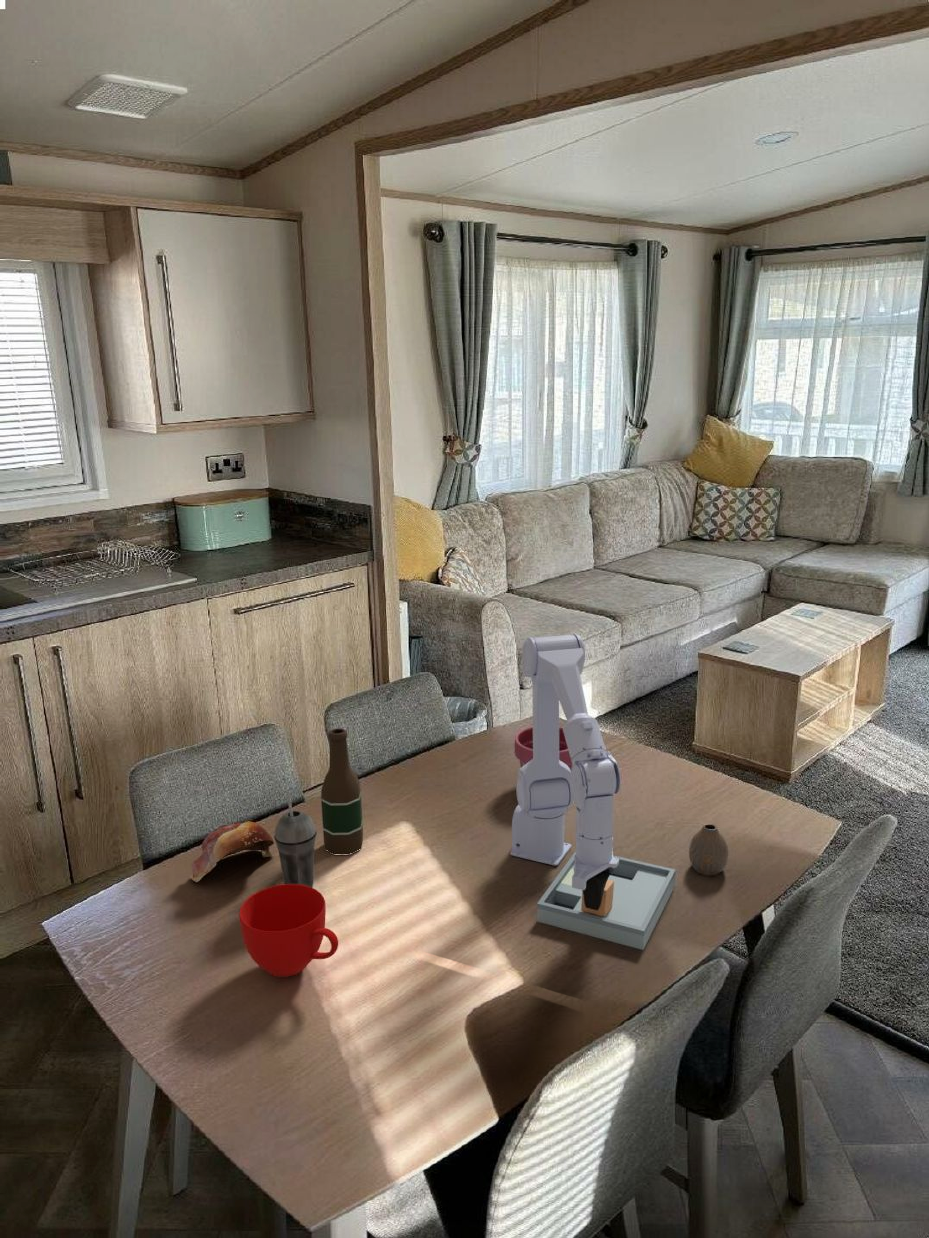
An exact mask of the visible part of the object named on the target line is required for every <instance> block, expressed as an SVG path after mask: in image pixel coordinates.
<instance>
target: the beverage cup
mask: <svg viewBox="0 0 929 1238" xmlns="http://www.w3.org/2000/svg"><path fill="white" fill-rule="evenodd" d="M286 798H287V804H288V810H289V811H288V812H286V813H284V814H283V815H282V816H281V817H280V818H279V819H278V821H277V823H276V825H275V828H274V836H273V838H274V841H275V844H276V849H277V851H278V856H279V861H280V867H281V871H282V878H283V879H282V880H283V884H299V885H305V886H309V887H312V888H313V887H314V872H315V871H314V866H315V862H314V861H315V844H316V837H317V833H318V832H317V830H316V829H317V828H316V826H315V823H314V821H313V819H312V817H311V816H309V815H308V814H307V813H305V812H303V811H300V810H293V806H292V805H293V804H292V798H291V794H290V791H287V792H286Z"/></svg>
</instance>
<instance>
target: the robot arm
mask: <svg viewBox="0 0 929 1238" xmlns="http://www.w3.org/2000/svg"><path fill="white" fill-rule="evenodd" d="M521 648H522V649H521V654H522V655H521V657H522V658H521V661H522V663H521V667H522V670H521V671H522V674H523V676H524V677H527V678H531V686H532V687H531V689H532V727H533V759H532V760H531V761H529V762H528V763H527V764H525V765H524V766H523V767H521V766H520V768H519V769H518V773H517V774H518V775H517V782H516V799H517V802H518V803H517V804H518V805H517V806H516V807H515V809H514V811H513V815H512V819H511V820H512V821H511V851H510V853H509V854H510V855H511V856H513V857H517V858H521V859H525V860H530V861H534V862H538V863H541V864H542V863H543V864H545V865H546V864H547V865H552V866H555V867H556V866H558V865H559V864H560V863H561V861H562V860H563V858H564V857H565V856H566V855H567V854H568V852H569V851H570V849H571V848H572V844H571V843H567V842H565V814H566V813H568V811H569V809H568V808H570V807H571V806H572V805H573V804H575V805H576V816H575V817H576V820H575V822H576V823H575V828H576V829H575V851H576V853H575V852H574V853H575V856H574V874H573V876H572V888H576V889H580V890H582V891H583V895H584V903H585V907H586V908H589V909H593V910H597V911H598V909H599V907H600V905H601V901H602V896H603V892H604V888H605V885H606V882H607V880H608V878H609V876H610V874H611V872H612V871H613V868H616V867H617V866H618V864H619V859H618V858H614V857H613V855H614V852H613V849H614V844H615V843H614V841H615V839H614V837H613V830H614V828H613V827H614V796H615V795H617V794H619V792H620V790H621V785H622V784H621V781H622V780H621V773H620V768H619V764H618V762H617V760H616V759H615V758H614V757H613V755H612V752H611V751H609V750H608V751H607V749H606V748H607V747H606V745H605V742H604V739H603V737H602V732H601V730H600V725H599V723H598V720H597V719H596V718H594V716H591V715H589V712H588V709H587V703H586V697H585V695H584V689H583V685H582V679H581V675H582V673H583V670H584V665H585V660H586V649H585V648H586V647H585V642H584V640H583V638H582V637H581V636H580V635H579V633H572V634H566V635H564V634H563V635H551V636H539V637H538V636H537V637H531V636H528V637H527V638H526V639H525V641H524V642H523V644H522V646H521ZM560 706H561V709H562V712H563V714H564V717H565V719H566V722H565V724H564V726H563V727H562V728H563V732H564V736H565V740H566V743H567V747H568V750H569V754H570V757H571V761H572V764H573V767H572V772H571V770H570V768H569V767H568V766H567V765H566V764H565V763H563V762H562V761H560V760H559V727H560ZM614 794H615V795H614Z"/></svg>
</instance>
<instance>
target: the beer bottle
mask: <svg viewBox="0 0 929 1238" xmlns="http://www.w3.org/2000/svg"><path fill="white" fill-rule="evenodd" d="M348 736H349V733H348V731H347V730H346V729H344V728H334V729H331V730H329V732H328V736H327V739H329V768H328V772H327V773H326V775H324V779H323V784H322V786H321V791H320V800H321V802H320V803H321V817H322V832H323V833H322V835H323V836H322V837H323V846H324V850H325V849H326V850H328V851H329V852H328V851H327V852H328V853H330V852H331V853H333V854H350V853H353V852H355V851H357V850H359V849H361V850H362V846H363V841H364V829H363V826H364V825H363V824H364V823H363V808H362V807H363V806H362V790H361V782H360V780H359V778H358V775H357V773H355V772H354V770H352V767H351V763H350V759H349V757H350V756H349V749H348V748H349V747H348V740H347V738H348ZM326 850H325V851H326ZM359 851H360V850H359ZM357 852H358V851H357ZM331 853H330V854H331ZM355 853H356V852H355ZM333 854H332V855H333ZM353 854H354V853H353Z"/></svg>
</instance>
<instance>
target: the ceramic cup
mask: <svg viewBox="0 0 929 1238" xmlns="http://www.w3.org/2000/svg"><path fill="white" fill-rule="evenodd" d="M326 909H327V908H326V900H325V897H324V895H323V894H322V893H321V892H320V891H318V890H317V889H316V888H312V887H309V886H305V885H299V884H284V883H283V884H277V885H273V886H270V887H266V888H264V889H262V890H261V889H260V890H258V891H256V892H255V893H253V894H252V895H250V896H249V897H248V898H246V900H245V901H244V902H243V903H242V904H241V906H240V908H239V915H238V918H239V925H240V931H241V936H242V940H243V942H244V946H245V949H246V950H247V952H248V954H249V956H250V957H251V959H252V960H253V961H254V963H255V964H256V965H257V966H258V967H260V968H261V969H262V970H264V971H266V972H267V973H268V974H270V975H271V976H274V977H280V978H284V977H285V978H286V977H290V976H294V975H297V974H299V973H300V972H302V971H304V970H305V969H306V968H307V966H308V965H309V964H310V963H311V962H312V961H313V960H326V959H328V958H331V957H332V956H333V955H334V954H335V953H336V952H337V950H338V947H339V939H338V937H337V934H336V933H335V932H334V931H333V930H331V929H329V928H327V927H325V926H326V914H327V913H326ZM324 937H326V938H327V939H328V940H329V943H330V951H326V952H321V951H320V952H319V950H320V947H321V945H322V942H323V939H324Z"/></svg>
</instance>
